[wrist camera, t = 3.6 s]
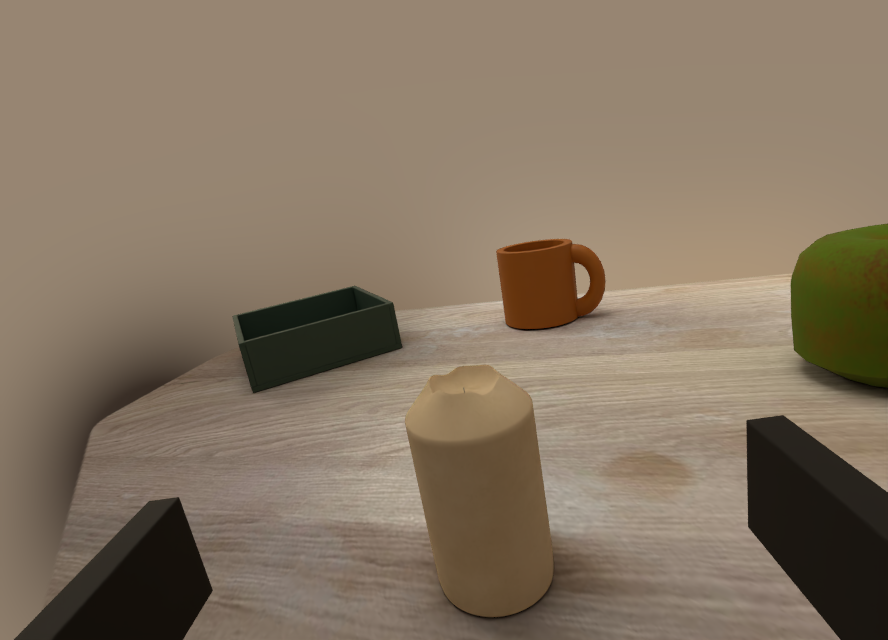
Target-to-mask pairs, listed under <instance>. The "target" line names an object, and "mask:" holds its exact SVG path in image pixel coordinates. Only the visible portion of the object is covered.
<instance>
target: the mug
mask: <svg viewBox="0 0 888 640" xmlns="http://www.w3.org/2000/svg"><path fill="white" fill-rule="evenodd" d="M496 252H497V260H498V268H499V275H500V282H501V290H502V298H503V305H504V313H505V320H506V324H507V325H509V326H511V327H514V328H521V329H540V328H548V327H554V326H558V325H563V324H565V323H568V322H571V321H573V320H575V319H576V318H577V317H578V316H584V315H586V314H588V313H590V312H592V311H593V310H594V309H595V308H596V307H597V306H598V304H599V303H600V301H601V300H602V297H603V294H604V291H605V274H604V269H603V266H602V264H601V261H600V260H599V258H598V257H597V256H596V254H595V253H594V252H593V251H592V250H590V249H589V248H587V247H585V246H583V245H577V244H572V241H571V240H568V239H550V240H538V241H532V242H525V243H520V244H514V245H510V246H506V247H503V248H500V249H498V250H497V251H496ZM574 263H579V264H581V265H583V266H584V267H585V268H586V270H587V271H588V273H589V276H590V287H589V290H588V292H587V293H586V294H585V295H584V296H583V297H582V298H579V299H577V290H576V278H575V268H574Z"/></svg>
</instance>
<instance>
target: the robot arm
mask: <svg viewBox="0 0 888 640" xmlns="http://www.w3.org/2000/svg"><path fill="white" fill-rule="evenodd" d="M747 481H748V527H749V528H750V530H751V531H752V532H753V533H754V535H755V536H756V537H757V538H758V539H759V541H760V542H761V543H762V544H763V545H764V547H765V548H766V549H767V550H768V552H769V553H770V554H771V555H772V556H773V558H774V559H775V560H776V561H777V563H778V564H779V565H780V566H781V567H782V569H783V570H784V571H785V572H786V574H787V575H788V576H789V577H790V578H791V580H792V581H793V582H794V583H795V585H796V586H797V587H798V588H799V589H800V591H801V592H802V593H803V594H804V595H805V597H806V598H807V599H808V600H809V602H810V603H811V604H812V605H813V606H814V608H815V609H816V610H817V611H818V613H819V614H820V615H821V616H822V617H823V619H824V620H825V621H826V622H827V624H828V625H829V626H830V627H831V628H832V630H833V631H834V632H835V633H836V635H837V636H838V637H839V638H840V639H841V640H888V492H886V491H885V490H884V489H882V488H881V487H880V486H878V485H877V484H876V483H874V482H873V481H872V480H870V479H869V478H867V477H866V476H865V475H863V474H862V473H861V472H859V471H858V470H857V469H855V468H854V467H853V466H851V465H850V464H848V463H847V462H846V461H844V460H843V459H842V458H840V457H839V456H838V455H836V454H835V453H834V452H832V451H831V450H829V449H828V448H827V447H825V446H824V445H823V444H821V443H820V442H819V441H817V440H816V439H815V438H813V437H812V436H811V435H809V434H808V433H806V432H805V431H804V430H802V429H801V428H800V427H798V426H797V425H796V424H794V423H793V422H792V421H790V420H789V419H787V418H786V417H785V416H783V415H782V416H774V417H767V418H759V419H752V420H747ZM212 591H213V590H212V587H211V584H210V581H209V579H208V576H207V573H206V570H205V568H204V565H203V562H202V559H201V557H200V554H199V551H198V548H197V546H196V543H195V540H194V537H193V535H192V532H191V529H190V526H189V524H188V521H187V518H186V515H185V513H184V510H183V507H182V504H181V502H180V499H179V497H177V498H170V499H162V500H155V501H149V502H148V503H147V504H146V505H145V506H144V507H143V508H142V509H141V510H140V511H139V512H138V513H137V514H136V515H135V516H134V517H133V518H132V519H131V520H130V521H129V522H128V523H127V524H126V525H125V526H124V527H123V528H122V529H121V530H120V531H119V532H118V533H117V535H116V536H115V537H114V538H113V539H112V540H111V541H110V542H109V543H108V544H107V545H106V546H105V547H104V548H103V549H102V550H101V551H100V552H99V553H98V554H97V555H96V556H95V557H94V558H93V559H92V560H91V561H90V562H89V563H88V564H87V565H86V566H85V567H84V568H83V569H82V570H81V571H80V572H79V573H78V574H77V576H76V577H75V578H74V579H73V580H72V581H71V582H70V583H69V584H68V585H67V586H66V587H65V588H64V589H63V590H62V591H61V592H60V593H59V594H58V595H57V596H56V597H55V598H54V599H53V600H52V601H51V602H50V603H49V604H48V605H47V606H46V607H45V608H44V609H43V610H42V611H41V612H40V613H39V614H38V616H37V617H36V618H35V619H34V620H33V621H32V622H31V623H30V624H29V625H28V626H27V627H26V628H25V629H24V630H23V631H22V632H21V633H20V634H19V635H18V636H17V637H16V638H15V639H14V640H183V639H184V637H185V635H186V634H187V632H188V630H189V629H190V627H191V625H192V624H193V622H194V620H195V619H196V617H197V616H198V614H199V612H200V611H201V609H202V607H203V606H204V604H205V602H206V601H207V599H208V597H209V596H210V594H211V593H212Z"/></svg>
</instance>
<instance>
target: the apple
mask: <svg viewBox="0 0 888 640" xmlns="http://www.w3.org/2000/svg"><path fill="white" fill-rule="evenodd" d="M791 319H792V331H793V343H794V350H795V351H796V352H797V353H798V354H799V355H800V356H801V357H802V358H804V359H805V360H806V361H808V362H810V363H813V364H815V365H817V366H819V367H822V368H824V369H826V370H829V371H831V372H833V373H835V374H838V375H840V376H843V377H845V378H848V379H850V380H853V381H857V382H860V383H864V384H868V385H871V386H876V387H886V388H888V224H881V225H874V226H868V227H862V228H856V229H851V230H846V231H841V232H837V233H833V234H828V235H826V236H824V237H822V238H820V239H818V240H816V241H815V242H814V243H813V244H811V245H810V246H809V247H808V248H807V249H806V250H804V251H803V252H802V253H801V254H800V255H799V259H798V261H797V263H796V266H795V269H794V272H793V274H792V279H791Z"/></svg>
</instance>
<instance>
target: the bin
mask: <svg viewBox="0 0 888 640" xmlns="http://www.w3.org/2000/svg"><path fill="white" fill-rule="evenodd" d="M233 321H234V326H235V330H236V334H237V340H238V344H239V348H240V351H241V354H242V358H243V361H244V364H245V368H246V371H247V374H248V378H249V381H250V385H251V388H252V391H253V393H254V392H258V391H261V390H264V389H268V388H271V387H274V386H277V385H281V384H284V383H287V382H290V381H294V380H297V379H300V378H304V377H307V376H310V375H313V374H317V373H320V372H323V371H327V370H330V369H333V368H336V367H340V366H343V365H346V364H350V363H353V362H356V361H359V360H363V359H366V358H369V357H373V356H376V355H379V354H382V353H386V352H389V351H392V350H396V349H399V348H402V344H401V339H400V334H399V329H398V324H397V319H396V315H395V310H394V305H393V302H390V301H388V300H386V299H384V298H382V297H379V296H377V295H375V294H373V293H370V292H368V291H365V290H364V289H361V288H359V287H357V286H352V287H348V288H344V289H340V290H336V291H332V292H328V293H324V294H319V295H315V296H312V297H307V298H303V299H299V300H295V301H291V302H287V303H283V304H279V305H275V306H271V307H267V308H263V309H259V310H255V311H251V312H246V313H242V314H238V315H234V316H233Z"/></svg>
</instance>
